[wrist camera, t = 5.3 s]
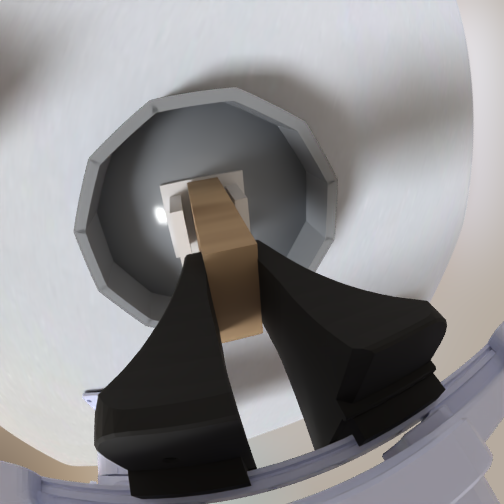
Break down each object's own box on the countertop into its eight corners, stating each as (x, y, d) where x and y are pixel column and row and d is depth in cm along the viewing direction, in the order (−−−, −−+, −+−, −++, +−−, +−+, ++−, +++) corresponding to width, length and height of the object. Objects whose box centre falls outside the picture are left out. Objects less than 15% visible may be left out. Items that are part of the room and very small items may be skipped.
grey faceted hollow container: (308, 277, 20) (327, 302, 18) (131, 317, 18) (129, 349, 15) (308, 87, 13) (336, 86, 11) (69, 126, 11) (46, 132, 8)
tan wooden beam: (225, 243, 16) (262, 333, 10) (198, 248, 16) (222, 343, 10) (217, 177, 14) (257, 243, 8) (186, 182, 13) (203, 254, 8)
